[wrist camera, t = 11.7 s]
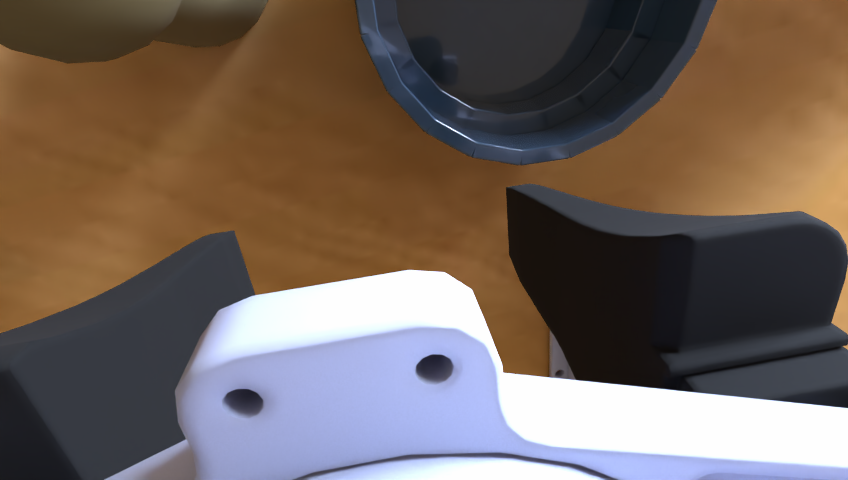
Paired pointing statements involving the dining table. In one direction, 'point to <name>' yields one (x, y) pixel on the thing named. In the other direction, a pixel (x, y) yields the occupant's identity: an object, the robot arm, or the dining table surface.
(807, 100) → the dining table surface
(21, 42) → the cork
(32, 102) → the dining table surface
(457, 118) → the blue bowl
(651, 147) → the dining table surface
